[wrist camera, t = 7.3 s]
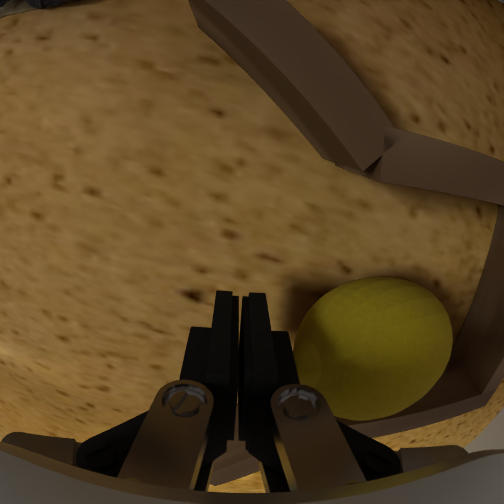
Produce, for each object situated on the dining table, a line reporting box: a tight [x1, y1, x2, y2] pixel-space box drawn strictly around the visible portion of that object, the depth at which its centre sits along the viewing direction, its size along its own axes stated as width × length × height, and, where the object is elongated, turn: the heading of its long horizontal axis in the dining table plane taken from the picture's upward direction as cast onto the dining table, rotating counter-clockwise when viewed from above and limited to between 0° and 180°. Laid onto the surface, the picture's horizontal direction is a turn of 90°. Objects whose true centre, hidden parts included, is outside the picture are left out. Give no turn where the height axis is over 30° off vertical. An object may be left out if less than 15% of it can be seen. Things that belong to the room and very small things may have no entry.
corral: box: [188, 0, 504, 486], centre depth 11 cm, size 22×17×4 cm
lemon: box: [293, 276, 453, 421], centre depth 11 cm, size 6×6×8 cm
